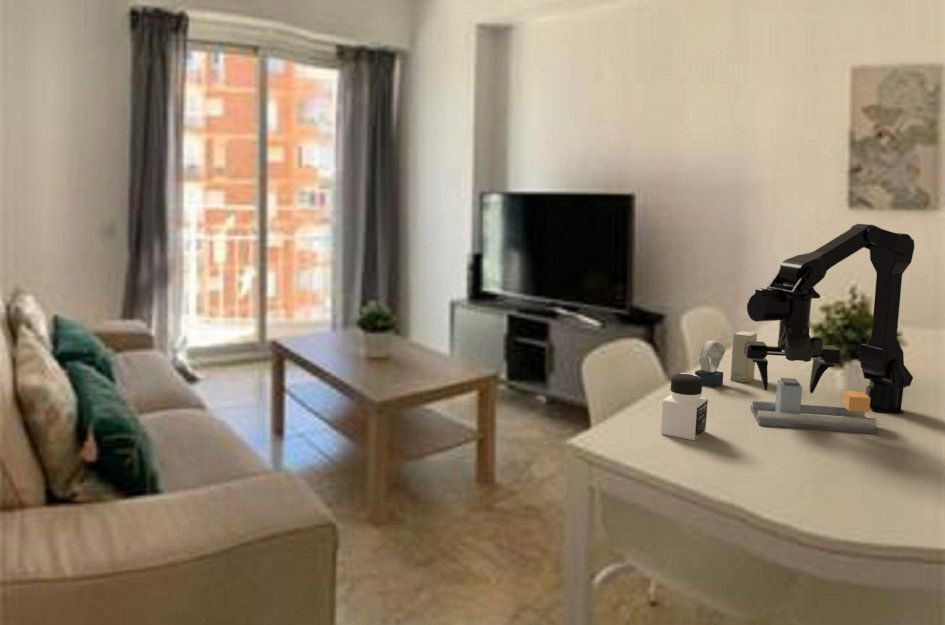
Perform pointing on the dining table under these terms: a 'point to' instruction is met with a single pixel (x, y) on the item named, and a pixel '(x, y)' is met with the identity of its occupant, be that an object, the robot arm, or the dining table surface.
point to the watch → (711, 364)
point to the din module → (788, 396)
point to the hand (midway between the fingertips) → (788, 391)
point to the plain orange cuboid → (856, 401)
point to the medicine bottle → (684, 408)
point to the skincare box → (742, 357)
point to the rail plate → (814, 418)
